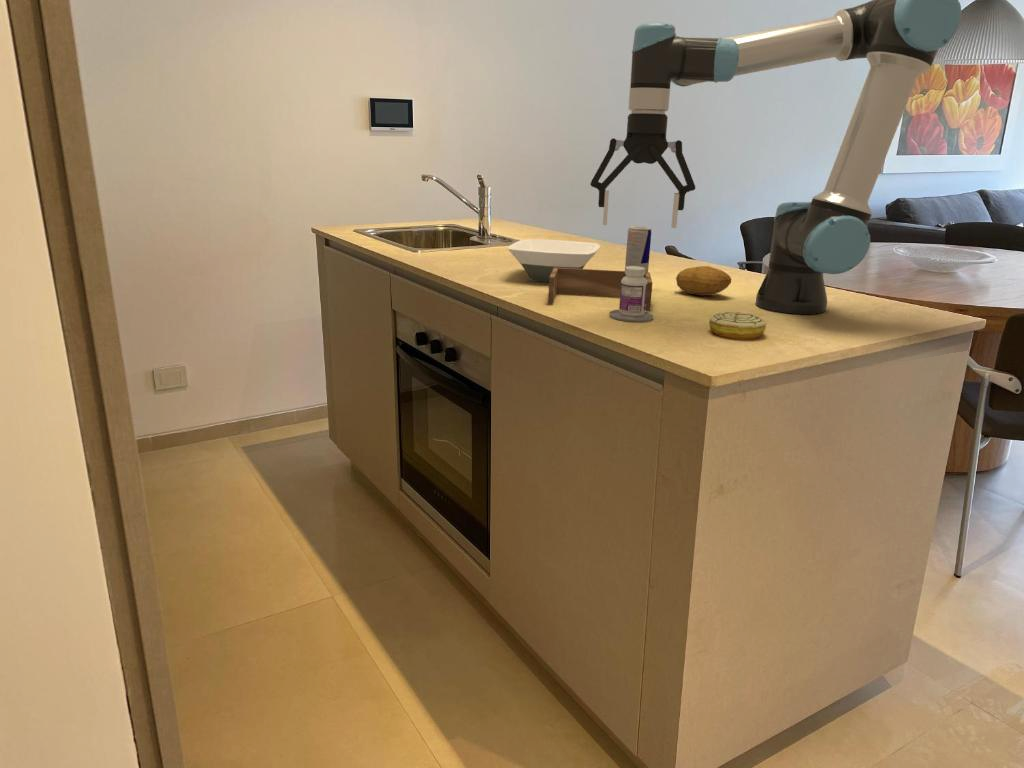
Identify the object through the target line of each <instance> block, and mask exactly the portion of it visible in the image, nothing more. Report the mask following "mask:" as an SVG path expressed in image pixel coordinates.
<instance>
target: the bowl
mask: <svg viewBox="0 0 1024 768" xmlns="http://www.w3.org/2000/svg"><path fill="white" fill-rule="evenodd" d="M601 247H602V246H601V245H600V243H595V242H584V241H573V240H571V241H570V240H562V239H561V240H557V239H556V240H555V239H539V238H535V239H533V238H525V239H521V240H517V241H515V242H514V243H512V244H510V245H508V248H507V249H508V251H509V252H510V254H511V255H512V256H513V257H514V258H515V260H516V261H518V263H519V264H520V265H521V266H522V269H524V271H525V272H526V274H527V276H528V277H529V279H530V280H531V281H533V280H534V282H541V281H543V282H544V283H549V277H550V275H551V273H552V271H553V269H554V267H555V268H574V269H585V268H584V267H585V266H586V264H587V263H589V261H590V260H591V259H592V258H593V257H594V256H595V254H596V253H597V252H598V251H599V250H600V249H601Z"/></svg>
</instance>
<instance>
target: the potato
mask: <svg viewBox="0 0 1024 768" xmlns="http://www.w3.org/2000/svg"><path fill="white" fill-rule="evenodd" d="M675 280H676V286H677V287H678V288H679V289H680V290H681V291H683V292H684V293H687V294H691V295H695V296H708V295H716V294H718V293H720V292H723V291H724V290H726V289H727V288H728V287H729V286H730V284H732V277H731V275H729V274H728V273H727V272H726V271H723V270H722V269H719V268H715V267H712V266H711V265H709V266H708V265H702V266H701V265H700V266H694V267H688V268H685V269H683V270H680V271H679V272H678V274H677V275H676V277H675Z"/></svg>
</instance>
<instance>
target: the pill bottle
mask: <svg viewBox="0 0 1024 768" xmlns="http://www.w3.org/2000/svg"><path fill="white" fill-rule="evenodd" d="M624 271H625V274H626V276H625V277H624V278H623V279H622V280H621V291H620V298H619V309H618V310H619V312H620V314H622V315H625V316H631V317H636V316H643V315H644V314H645V312H646V311H645V309H646V296H647V285H648V282H647V279H646V278H644V277H643V276H644V275H645V268H644V267H638V266H628V267H626V269H625V268H624Z"/></svg>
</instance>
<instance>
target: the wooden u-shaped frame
mask: <svg viewBox="0 0 1024 768" xmlns="http://www.w3.org/2000/svg"><path fill="white" fill-rule="evenodd" d="M625 276H626V274H625V270H611V269H610V270H608V269H607V270H606V269H592V268H591V269H590V268H583V269H574V268H555V267H554V269H553V271H552V273H551V275H550V277H549V282H548V295H547V296H548V297H547V300H548V301H547V303H548V304H547V306H553V305H554V303H555V300H556V297H557V295H568V296H585V297H600V298H601V297H604V298H619V299H620V291H621V280H622V279H623V278H624V277H625ZM643 277H644V278H646V279H647V282H648V285H647V296H646V309H645V312H649V311H651V305H652V304H651V303H652V293H653V292H652V291H653V280H652V277H651V272H649V271H648V272H645V275H644V276H643Z"/></svg>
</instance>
